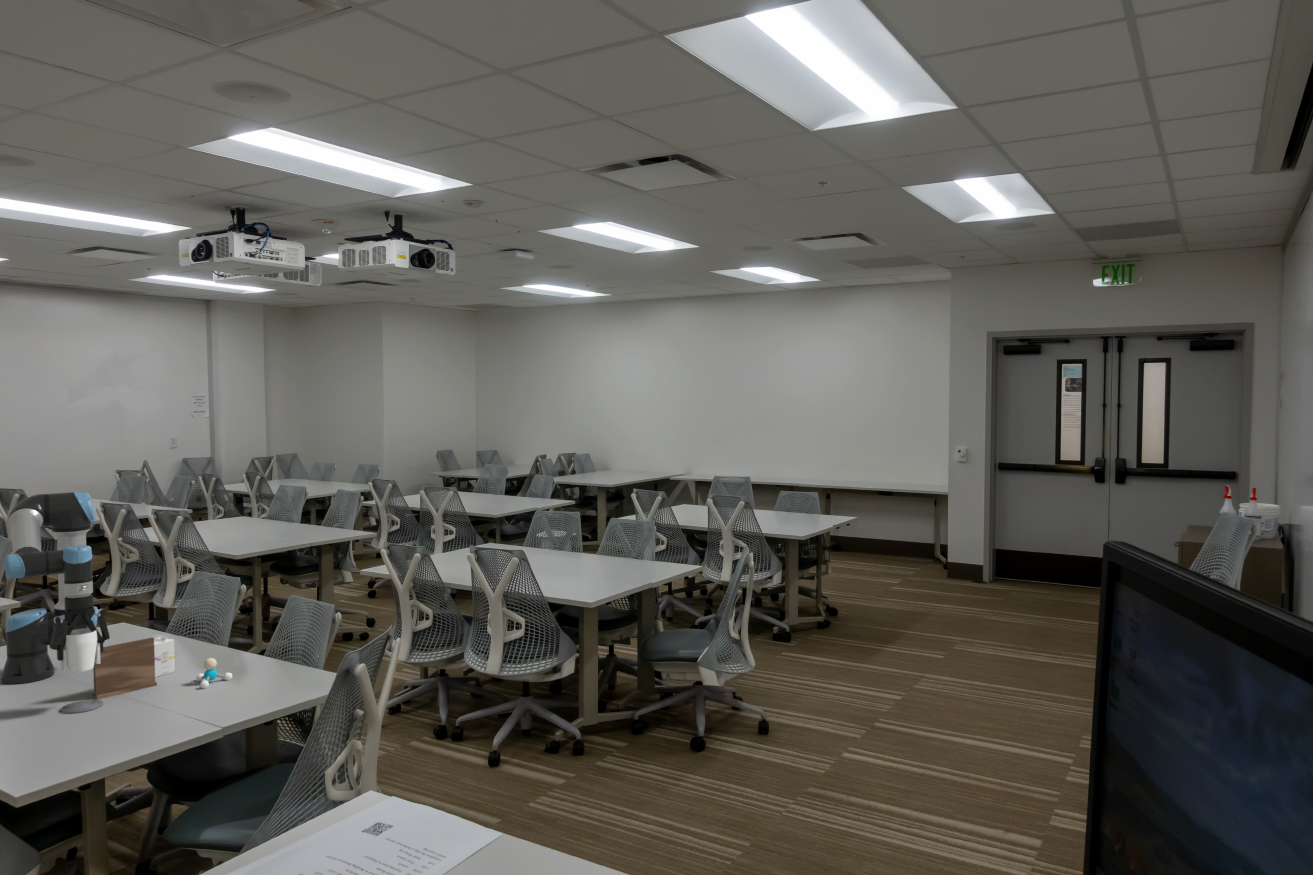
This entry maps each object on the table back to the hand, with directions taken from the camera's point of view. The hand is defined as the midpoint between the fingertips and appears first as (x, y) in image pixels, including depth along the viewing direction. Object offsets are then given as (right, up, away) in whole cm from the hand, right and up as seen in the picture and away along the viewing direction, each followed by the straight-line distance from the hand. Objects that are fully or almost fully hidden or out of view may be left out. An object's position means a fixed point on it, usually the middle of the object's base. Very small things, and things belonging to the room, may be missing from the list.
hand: (80, 666), depth 271 cm
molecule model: (+28, -13, +25) cm, 40 cm away
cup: (0, -1, 0) cm, 1 cm away
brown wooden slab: (+4, -12, +16) cm, 21 cm away
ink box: (+3, -12, +36) cm, 38 cm away
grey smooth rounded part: (0, -13, 0) cm, 13 cm away
